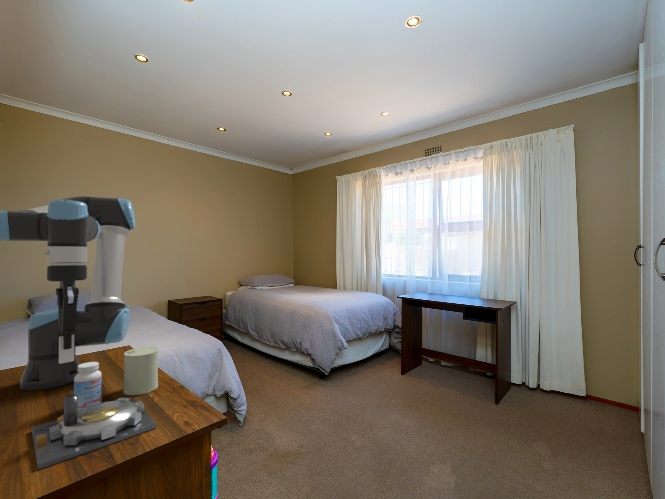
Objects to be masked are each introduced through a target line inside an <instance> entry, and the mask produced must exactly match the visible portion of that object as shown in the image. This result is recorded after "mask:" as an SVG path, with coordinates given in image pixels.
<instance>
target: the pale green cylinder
mask: <svg viewBox="0 0 665 499" xmlns="http://www.w3.org/2000/svg"><path fill="white" fill-rule="evenodd" d="M123 358H124V359H123V360H124V362H123V364H124V365H123V367H124V368H123V370H124V371H123V373H124V375H123V394H124V395H126V396H140V395H144V394H148V393H151V392H152V391H155V390H157V388H158V387H159V379H158V374H159V372H158V371H159V370H158V368H159V365H158V363H159V361H158V360H159V348H158V347H155V346H144V347H143V346H142V347H136V348H132V349H129V350H127V351H125V352H124V353H123Z"/></svg>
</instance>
